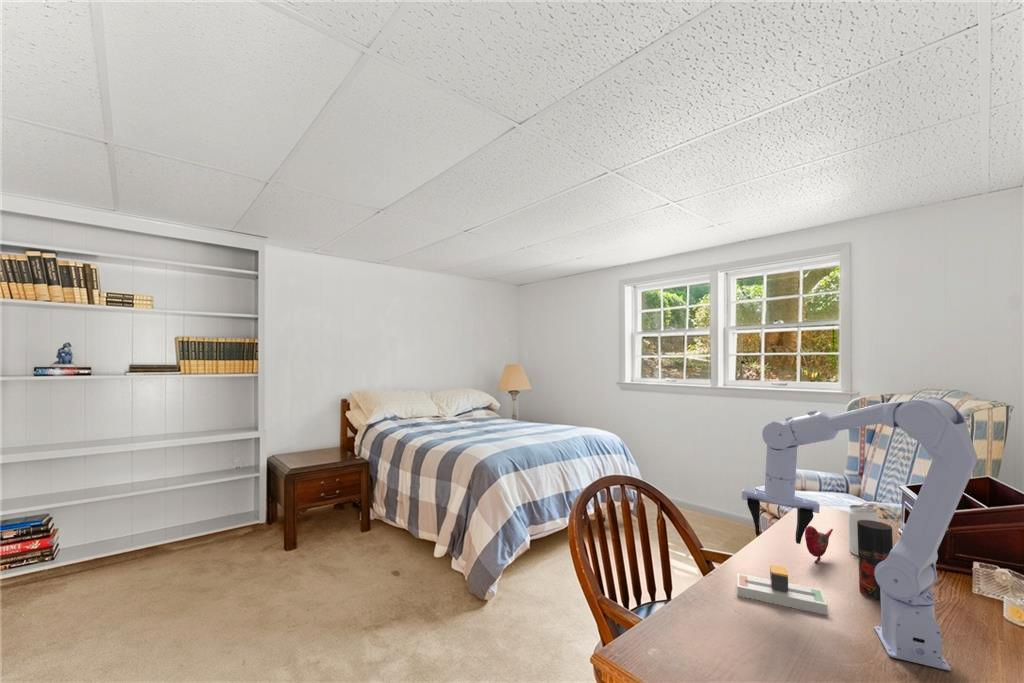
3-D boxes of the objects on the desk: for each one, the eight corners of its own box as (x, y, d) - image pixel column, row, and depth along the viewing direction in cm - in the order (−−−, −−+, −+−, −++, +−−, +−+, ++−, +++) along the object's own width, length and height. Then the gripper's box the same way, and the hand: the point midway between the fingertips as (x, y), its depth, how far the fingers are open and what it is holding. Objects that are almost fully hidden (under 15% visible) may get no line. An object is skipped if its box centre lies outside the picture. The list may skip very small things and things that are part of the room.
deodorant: (901, 603, 94) (898, 530, 95) (869, 600, 95) (866, 528, 96) (884, 589, 100) (881, 521, 100) (853, 587, 101) (851, 519, 101)
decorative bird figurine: (800, 568, 110) (799, 526, 110) (826, 550, 121) (825, 512, 121) (813, 572, 108) (812, 530, 108) (839, 554, 118) (838, 515, 119)
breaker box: (827, 615, 89) (827, 604, 89) (737, 596, 96) (737, 586, 96) (821, 598, 95) (821, 588, 96) (737, 582, 103) (737, 572, 103)
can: (878, 553, 119) (876, 507, 120) (882, 562, 114) (880, 513, 114) (848, 547, 123) (846, 503, 123) (850, 556, 117) (849, 509, 118)
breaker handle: (788, 591, 94) (787, 575, 94) (771, 588, 95) (771, 572, 95) (786, 583, 97) (786, 567, 97) (770, 580, 98) (770, 564, 99)
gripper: (817, 477, 99) (814, 538, 99) (743, 466, 105) (740, 523, 105) (822, 486, 92) (819, 551, 93) (743, 473, 99) (740, 534, 99)
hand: (777, 537), depth 99 cm, fingers open, 7 cm apart
